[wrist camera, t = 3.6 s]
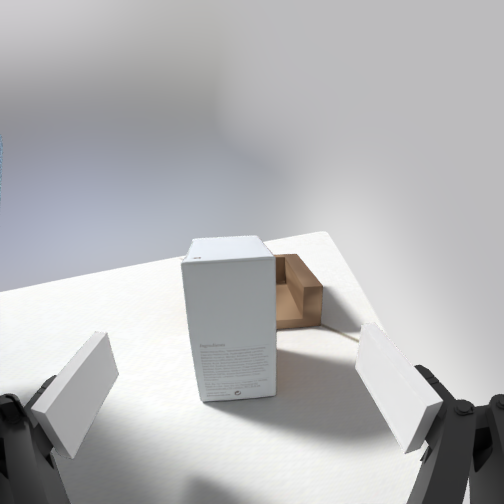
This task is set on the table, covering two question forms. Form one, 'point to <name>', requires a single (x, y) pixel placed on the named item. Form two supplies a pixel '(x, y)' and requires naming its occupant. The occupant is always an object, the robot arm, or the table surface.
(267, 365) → the small box
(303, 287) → the rack
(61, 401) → the robot arm
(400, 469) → the table surface
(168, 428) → the table surface
